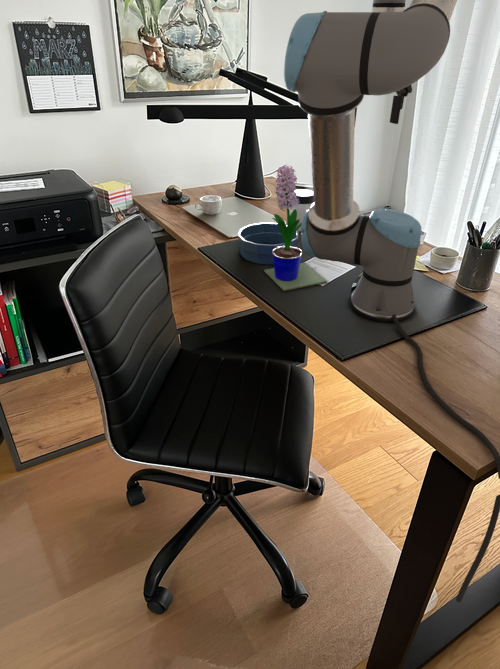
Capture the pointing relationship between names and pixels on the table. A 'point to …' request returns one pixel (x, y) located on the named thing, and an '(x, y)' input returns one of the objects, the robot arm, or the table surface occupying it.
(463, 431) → the table surface
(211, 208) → the teacup
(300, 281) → the mat
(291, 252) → the hyacinth
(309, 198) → the jar
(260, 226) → the bowl
